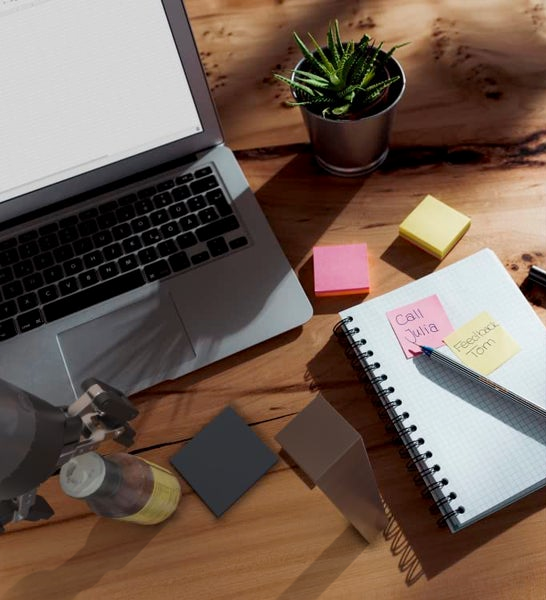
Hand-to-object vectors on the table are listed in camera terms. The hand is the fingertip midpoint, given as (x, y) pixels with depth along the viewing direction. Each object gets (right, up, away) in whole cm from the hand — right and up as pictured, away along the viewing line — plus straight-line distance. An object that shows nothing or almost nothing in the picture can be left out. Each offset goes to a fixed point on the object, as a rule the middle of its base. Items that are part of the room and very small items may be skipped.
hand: (86, 472), depth 58 cm
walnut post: (+24, -10, +15) cm, 30 cm away
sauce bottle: (0, -7, +17) cm, 19 cm away
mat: (+7, -3, +18) cm, 20 cm away
